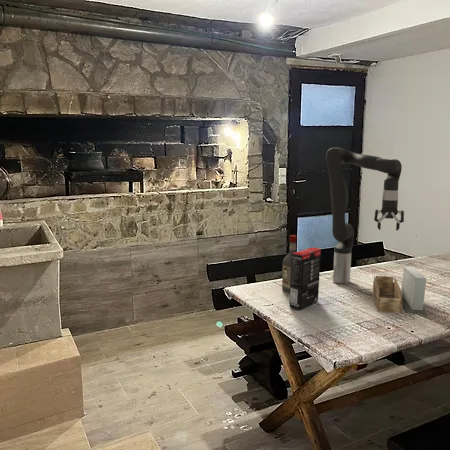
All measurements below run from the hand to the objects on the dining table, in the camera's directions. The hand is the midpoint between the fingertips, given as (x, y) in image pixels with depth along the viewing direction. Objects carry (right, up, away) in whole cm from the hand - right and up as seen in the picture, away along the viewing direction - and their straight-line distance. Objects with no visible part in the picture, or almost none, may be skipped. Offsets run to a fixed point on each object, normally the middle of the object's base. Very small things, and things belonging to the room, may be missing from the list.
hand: (388, 229), depth 234 cm
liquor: (-49, -33, +8) cm, 59 cm away
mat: (+7, -36, -14) cm, 39 cm away
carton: (-5, -36, -11) cm, 38 cm away
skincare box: (+6, -36, -14) cm, 39 cm away
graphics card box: (-46, -37, -13) cm, 60 cm away
